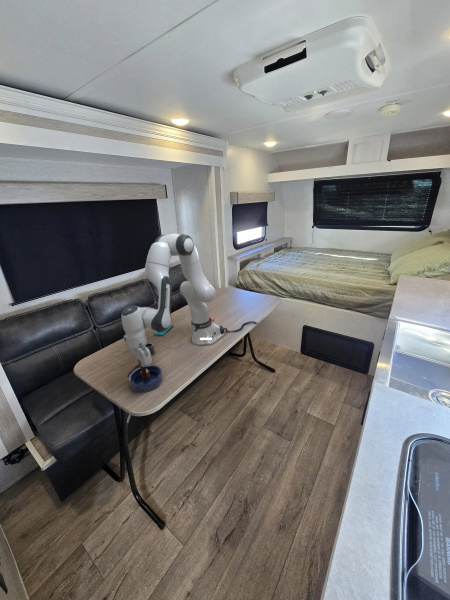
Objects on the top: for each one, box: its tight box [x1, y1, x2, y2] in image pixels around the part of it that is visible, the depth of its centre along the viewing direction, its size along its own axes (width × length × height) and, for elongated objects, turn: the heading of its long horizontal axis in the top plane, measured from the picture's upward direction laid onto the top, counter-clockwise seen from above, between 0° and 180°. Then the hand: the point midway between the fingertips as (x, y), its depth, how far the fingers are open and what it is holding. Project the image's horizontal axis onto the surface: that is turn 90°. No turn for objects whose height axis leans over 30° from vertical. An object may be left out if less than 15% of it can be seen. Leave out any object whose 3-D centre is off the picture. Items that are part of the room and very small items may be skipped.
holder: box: [145, 342, 155, 356], centre depth 144 cm, size 5×5×6 cm
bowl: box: [128, 364, 164, 394], centre depth 120 cm, size 16×16×5 cm
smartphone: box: [153, 324, 174, 337], centre depth 171 cm, size 7×1×15 cm
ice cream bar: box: [127, 363, 140, 376], centre depth 131 cm, size 5×2×15 cm
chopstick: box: [137, 359, 147, 380], centre depth 118 cm, size 2×2×15 cm
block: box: [140, 369, 150, 380], centre depth 123 cm, size 4×4×4 cm
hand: (141, 364), depth 118 cm, fingers closed on chopstick, 2 cm apart
